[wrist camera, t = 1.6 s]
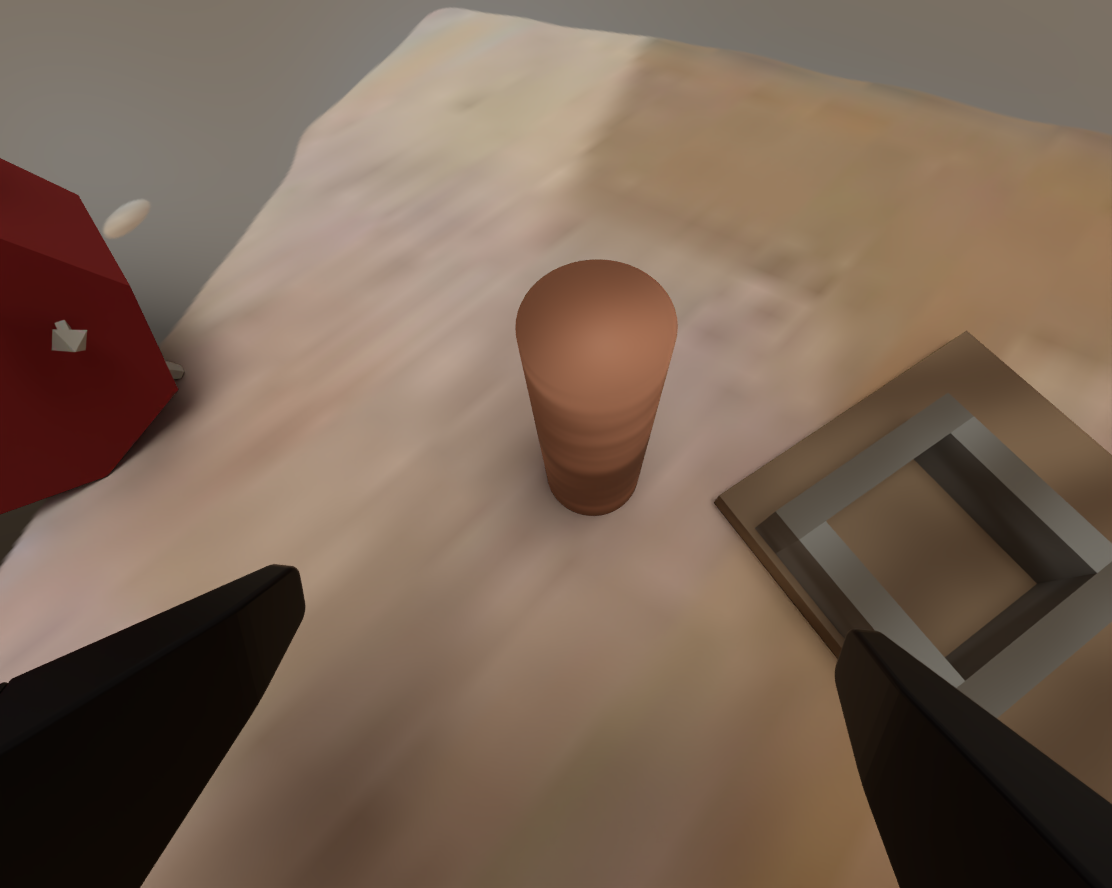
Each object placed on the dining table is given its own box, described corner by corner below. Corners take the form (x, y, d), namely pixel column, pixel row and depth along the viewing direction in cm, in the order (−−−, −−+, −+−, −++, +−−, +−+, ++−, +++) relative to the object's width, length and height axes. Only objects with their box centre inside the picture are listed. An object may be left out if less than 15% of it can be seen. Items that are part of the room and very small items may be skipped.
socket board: (1278, 629, 19) (1416, 623, 16) (1010, 875, 17) (1108, 925, 14) (952, 343, 25) (1007, 295, 21) (714, 502, 22) (735, 475, 19)
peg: (656, 483, 23) (711, 340, 13) (579, 533, 22) (572, 425, 12) (604, 414, 24) (615, 236, 14) (530, 459, 24) (486, 306, 13)
